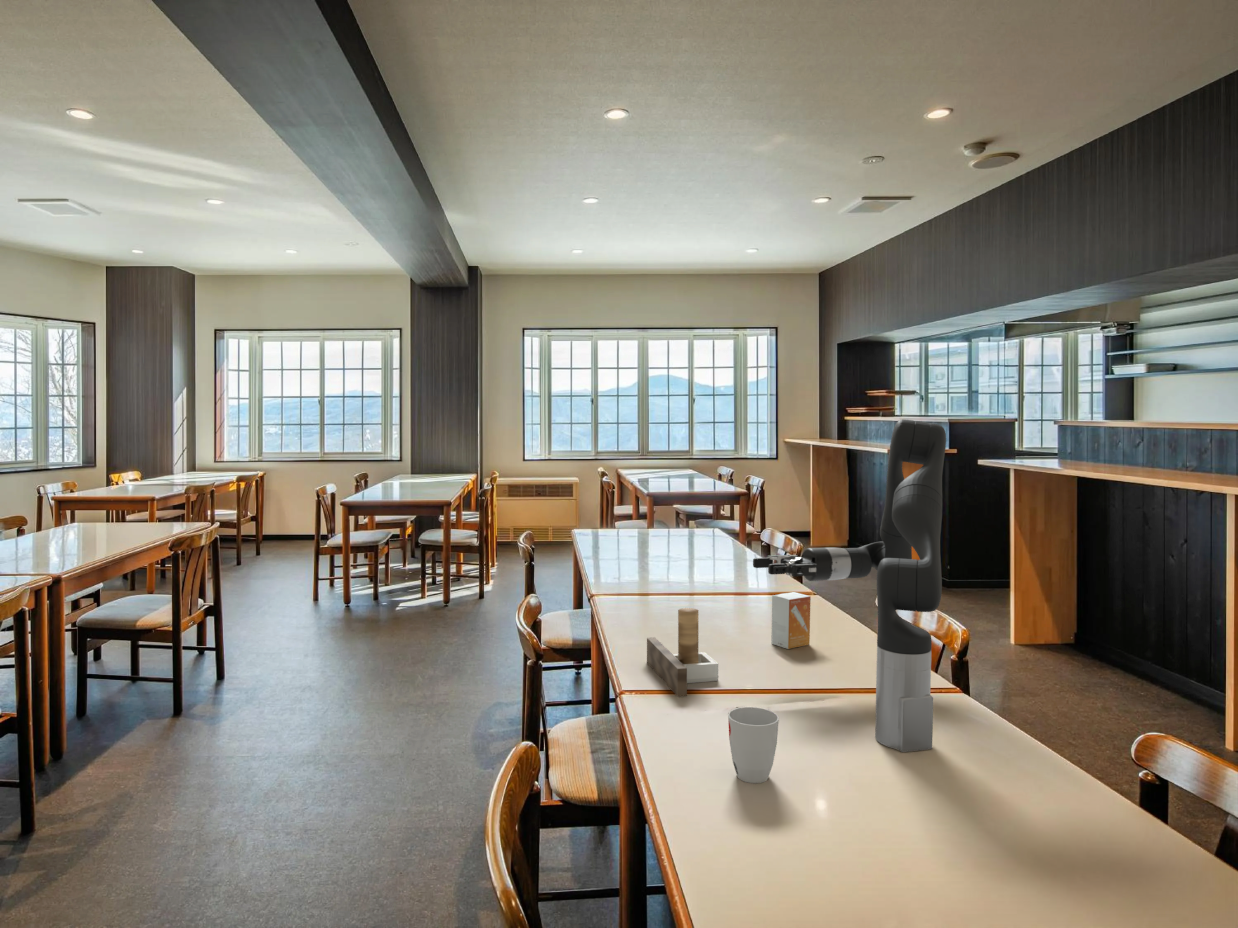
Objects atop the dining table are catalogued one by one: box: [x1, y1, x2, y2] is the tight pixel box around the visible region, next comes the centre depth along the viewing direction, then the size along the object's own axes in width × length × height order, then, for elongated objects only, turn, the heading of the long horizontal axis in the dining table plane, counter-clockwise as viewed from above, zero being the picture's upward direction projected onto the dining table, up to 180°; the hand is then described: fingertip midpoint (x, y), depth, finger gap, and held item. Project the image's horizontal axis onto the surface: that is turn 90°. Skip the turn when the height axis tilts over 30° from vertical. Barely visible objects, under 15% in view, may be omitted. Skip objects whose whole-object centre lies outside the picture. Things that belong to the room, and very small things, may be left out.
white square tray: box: [672, 651, 719, 684], centre depth 173 cm, size 9×9×4 cm
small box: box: [771, 591, 811, 650], centre depth 202 cm, size 8×6×13 cm
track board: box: [646, 636, 688, 698], centre depth 173 cm, size 24×20×7 cm
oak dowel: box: [677, 607, 699, 664], centre depth 172 cm, size 4×4×14 cm
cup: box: [727, 706, 780, 784], centre depth 126 cm, size 8×8×10 cm
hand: (761, 566), depth 175 cm, fingers open, 8 cm apart
